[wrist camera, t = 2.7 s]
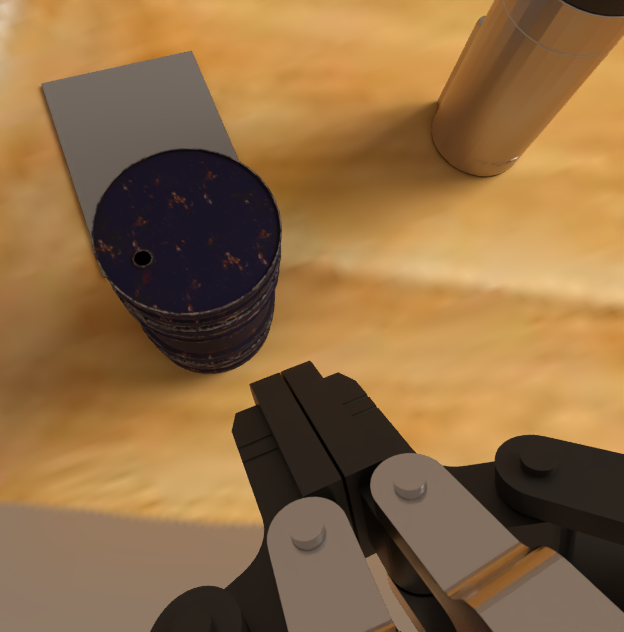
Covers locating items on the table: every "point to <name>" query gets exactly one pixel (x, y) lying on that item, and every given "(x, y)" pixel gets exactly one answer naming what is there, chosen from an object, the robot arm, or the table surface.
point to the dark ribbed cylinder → (192, 254)
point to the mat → (131, 119)
